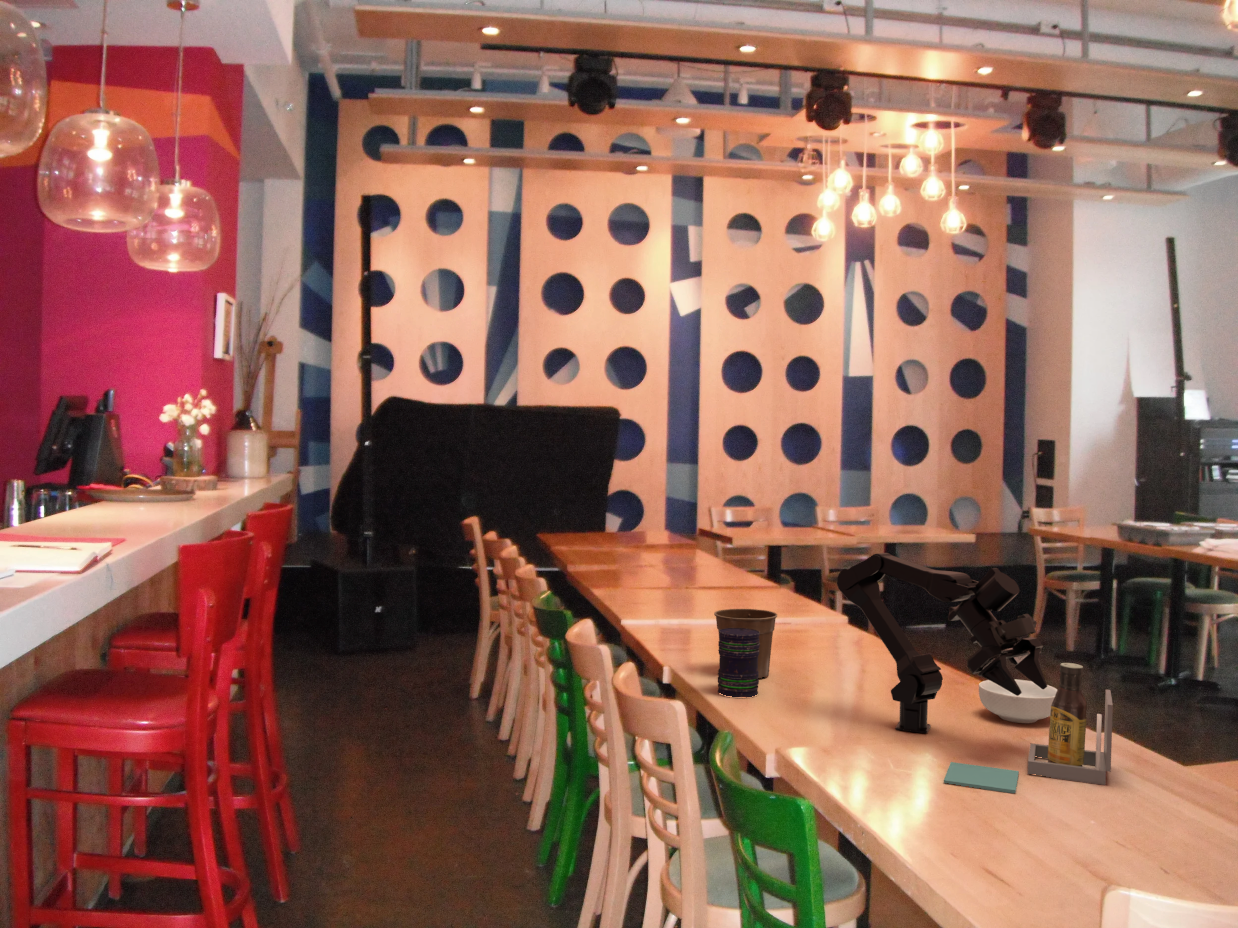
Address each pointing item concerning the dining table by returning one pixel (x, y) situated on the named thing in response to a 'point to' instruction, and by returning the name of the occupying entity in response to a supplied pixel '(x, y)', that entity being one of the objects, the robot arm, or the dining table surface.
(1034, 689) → the cereal bowl
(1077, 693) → the sauce bottle
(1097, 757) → the open lid tray
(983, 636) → the robot arm
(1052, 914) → the dining table surface
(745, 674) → the storage jar
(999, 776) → the rubber pad
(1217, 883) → the dining table surface
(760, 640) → the plant pot
